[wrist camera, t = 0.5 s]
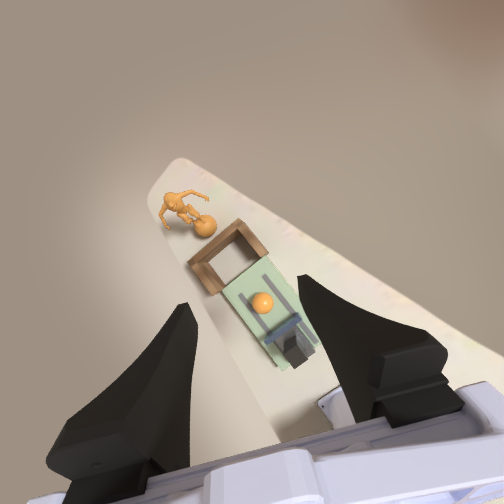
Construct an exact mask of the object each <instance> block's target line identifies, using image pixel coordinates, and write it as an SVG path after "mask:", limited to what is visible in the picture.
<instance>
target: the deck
mask: <svg viewBox="0 0 504 504" xmlns="http://www.w3.org/2000/svg"><path fill="white" fill-rule="evenodd" d="M222 292H223V293H224V295H225V296H226V297H227V299H228V300H229V301H230V303H231V304H232V305H233V307H234V308H235V309H236V311H237V312H238V313H239V315H240V316H241V317H242V319H243V320H244V321H245V323H246V324H247V325H248V327H249V328H250V329H251V331H252V332H253V333H254V335H255V336H256V337H257V339H258V340H259V341H260V343H261V344H262V345H263V347H264V348H265V349H266V351H267V352H268V353H269V355H270V356H271V357H272V359H273V360H274V361H275V363H276V364H277V365H278V367H279V368H280V369H281V371H283V370H284V369H286V368H287V367H289V366H290V365H291V364H290V363H289V362H288V360H287V359H286V358H285V356H284V355H283V351H282V349H281V348H280V347H279V345H278V344H277V343H276V341H275V340H274V341H273V342H272V343H270V344H269V345H266V344H265V343H264V339H265V336H266V335H268V334H269V333H270V332H272V331H273V330H274V329H276V328H277V327H278V326H280V325H281V324H282V323H284V322H285V321H286V320H288V319H289V318H290V317H292V316H293V315H294V314H296V313H297V312H299V313H300V315H301V317H302V320H301V321H300V322H299V323H297V325H298V327H299V328H300V329H301V331H302V332H303V333H304V334H305V336H306V337H307V338H308V339H309V341H310V342H311V343H312V345H313V346H314V348H315V347H317V346H318V345H320V344H321V341H320V339H319V337H318V336H317V334H316V332H315V330H314V329H313V327H312V325H311V323H310V322H309V320H308V318H307V316H306V314H305V312H304V310H303V307H302V305H301V302H300V300H299V296H298V295H297V293H296V292H295V291H294V290H293V288H292V287H291V286H290V285H289V283H288V282H287V281H286V280H285V278H284V277H283V276H282V275H281V273H280V272H279V271H278V270H277V268H276V267H275V266H274V265H273V263H272V262H271V261H270V260H269V258H268V257H267V256H266V255H265V256H263V257H262V258H261V259H260V260H259V261H257V262H256V263H255V264H254V265H252V266H251V267H250V268H249V269H247V270H246V271H245V272H244V273H242V274H241V275H240V276H239V277H237V278H236V279H235V280H234V281H233V282H231V283H230V284H229V285H228V286H226V287H225V288H224V289H223V290H222ZM260 292H265V293H268V294H269V295H271V297H272V298H273V301H274V306H273V308H272V310H271V311H270V312H269V313H267V314H259V313H257V312H256V311H255V310H254V308H253V305H252V301H253V298H254V296H255V295H256V294H258V293H260Z"/></svg>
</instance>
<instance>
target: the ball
mask: <svg viewBox="0 0 504 504" xmlns="http://www.w3.org/2000/svg"><path fill="white" fill-rule="evenodd" d="M252 305H253V308H254V310H255V311H256V312H257V313H259V314H267V313H269V312H270V311H271V310H272V308H273V306H274V301H273V298H272V297H271V295H269V294H268V293H265V292H260V293H258V294H256V295H255V296H254V298H253V301H252Z"/></svg>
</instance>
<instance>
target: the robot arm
mask: <svg viewBox="0 0 504 504" xmlns="http://www.w3.org/2000/svg"><path fill="white" fill-rule="evenodd" d="M297 279H298V289H299V300H300V302H301V305H302V307H303V310H304V312H305V314H306V316H307V318H308V320H309V322H310V323H311V325H312V327H313V329H314V330H315V332H316V334H317V336H318V337H319V339H320V341H321V343H322V345H323V347H324V349H325V351H326V353H327V355H328V357H329V360H330V362H331V364H332V366H333V369H334V371H335V373H336V376H337V378H338V380H339V383H340V385H341V386H339V387H338V388H336V389H335V390H333V391H332V392H330V393H329V394H327V395H326V396H324V397H323V398H321V399H320V400H318V406H319V407H320V408H321V410H322V411H323V412H324V414H325V415H326V416H327V418H328V419H329V420H330V421H331V423H332V424H333V427H334V430H330V431H326V432H322V433H318V434H314V435H311V436H307V437H303V438H299V439H295V440H291V441H288V442H284V443H280V444H276V445H272V446H269V447H265V448H261V449H257V450H253V451H249V452H246V453H242V454H238V455H235V456H230V457H226V458H223V459H219V460H215V461H211V462H207V463H203V464H200V465H196V466H192V467H190V442H189V441H190V401H191V383H192V374H193V368H194V361H195V354H196V347H197V339H198V324H197V322H196V320H195V317H194V315H193V313H192V311H191V308H190V306H189V304H188V302H187V303H183V304H179V305H178V306H177V307H176V309H175V310H174V311H173V313H172V314H171V316H170V317H169V319H168V320H167V321H166V323H165V324H164V326H163V327H162V329H161V330H160V331H159V333H158V334H157V335H156V336H155V338H154V339H153V340H152V342H151V343H150V344H149V345H148V347H147V348H146V349H145V350H144V351H143V352H142V354H141V355H140V356H139V357H138V358H137V359H136V360H135V361H134V362H133V364H132V365H130V366H129V367H128V368H127V369H126V371H124V372H123V373H122V374H121V375H120V377H119V378H117V379H116V380H115V381H114V382H113V383H112V384H111V385H110V386H109V387H108V388H106V389H105V390H104V391H103V392H102V393H101V394H99V395H98V396H97V397H96V398H95V399H94V400H92V401H91V402H90V403H89V404H87V405H86V406H85V407H84V408H82V409H81V410H80V411H78V412H77V413H76V414H75V415H74V416H72V417H71V418H70V419H68V420H67V422H66V424H65V425H64V427H63V429H62V430H61V432H60V434H59V436H58V438H57V439H56V441H55V443H54V445H53V447H52V448H51V450H50V452H49V454H48V456H47V457H46V464H47V466H48V468H50V469H51V470H52V471H54V472H56V473H58V474H60V475H62V476H64V477H66V478H68V479H70V480H71V481H72V482H71V484H70V487H69V489H68V491H67V492H64V491H63V492H62V491H61V492H54V493H51V494H47V495H43V496H39V497H35V498H32V499H30V500H29V501H28V502H27V504H482V503H485V502H488V501H491V500H495V499H498V498H501V497H504V396H503V395H502V394H501V393H500V392H499V391H498V390H496V389H495V388H494V387H493V386H492V385H491V384H490V383H489V382H487V381H482V382H478V383H474V384H470V385H466V386H463V387H460V388H458V389H456V390H455V391H453V390H452V389H451V388H450V387H449V386H448V385H447V384H448V383H449V381H448V379H447V378H446V377H445V376H444V375H443V374H442V373H441V372H442V369H443V367H444V365H445V363H446V361H447V357H448V352H447V349H446V348H445V347H444V346H443V345H442V344H441V343H440V342H438V341H437V340H436V339H435V338H434V337H433V336H432V335H431V334H429V333H428V332H427V331H426V330H422V329H419V328H415V327H411V326H408V325H404V324H401V323H398V322H395V321H392V320H389V319H386V318H383V317H381V316H378V315H376V314H373V313H371V312H368V311H366V310H364V309H361V308H359V307H357V306H355V305H353V304H351V303H349V302H347V301H346V300H344V299H342V298H340V297H339V296H337V295H335V294H334V293H332V292H331V291H329V290H328V289H326V288H325V287H323V286H322V285H321V284H319V283H318V282H316V281H315V280H314V279H312V278H311V277H310V276H308V275H307V274H305V275H301V276H297ZM322 405H324V406H323V407H322Z"/></svg>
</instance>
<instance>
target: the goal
mask: <svg viewBox="0 0 504 504" xmlns="http://www.w3.org/2000/svg"><path fill="white" fill-rule="evenodd" d="M241 234H242V235H243V236H244V237H245V238H246V240H247V241H248V242H249V244H250V245H251V246H252V247H253V249H254V250H255V251H256V252H257V254H258V255H259V256H260V257H263V256H265V255H267V254H268V253H269V252H268V251H267V250H266V249H265V247H264V246H263V245H262V244H261V242H260V241H259V240H258V239H257V237H256V236H255V235H254V234H253V232H252V231H251V230H250V229H249V227H248V226H247V225H246V224H245V223H244V222H243V221H242V220H241V219H239V218H238V219H237V220H236V221H234V222H233V223H232V224H231V225H230V226H228V227H227V228H226V229H225V230H224V231H223V232H221V233H220V234H219V235H218V236H217V237H216V238H214V239H213V240H212V241H211V242H210V243H209V244H207V245H206V246H205V247H204V248H203V249H202V250H200V251H199V252H198V253H197V254H196V255H194V256H193V257H192V258H191V259H190V260H189V261H187V262H188V264H189V265H190V266H191V268H192V269H193V270H194V272H195V273H196V274H197V276H198V277H199V279H200V280H201V281H202V283H203V284H204V285H205V287H206V288H207V289H208V291H209V292H210V293H211V295H212V296H214V295H215V294H217V293H219V292H221V291H222V290H223V289H224V288H225V287H226V285H225V284H224V283H223V281H222V280H221V279H220V277H219V276H218V275H217V273H216V272H215V271H214V269H213V268H212V267H211V265H210V264H209V263H208V262H209V261H210V260H211V259H212V258H213V257H215V256H216V255H217V254H218V253H219V252H221V251H222V250H223V249H224V248H225V247H227V246H228V245H229V244H230V243H231V242H232V241H234V240H235V239H236V238H237V237H238V236H240V235H241Z"/></svg>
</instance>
